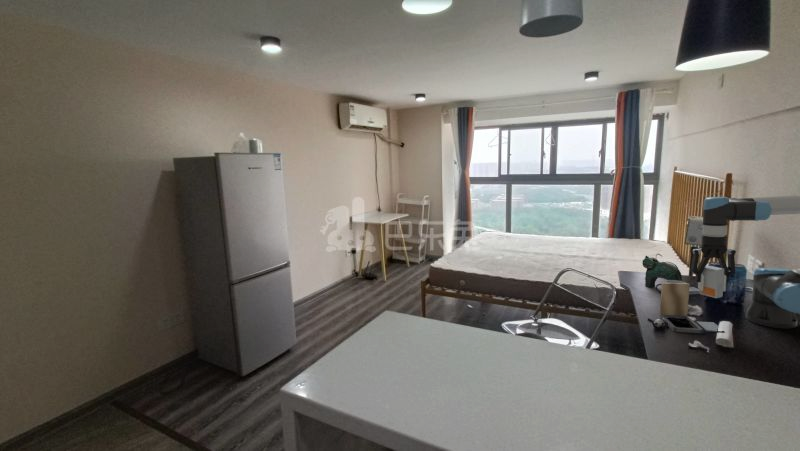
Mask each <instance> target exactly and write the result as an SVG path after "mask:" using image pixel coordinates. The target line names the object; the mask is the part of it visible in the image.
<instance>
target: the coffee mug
mask: <svg viewBox="0 0 800 451" xmlns="http://www.w3.org/2000/svg"><path fill="white" fill-rule="evenodd" d="M682 281H683V280H682ZM682 281H677V280H665V281H664V283H686V282H685V281H683V282H682ZM658 286H662V283H658V284H655V289H656V290H657V291H658V292H659V293H660V294H661V290H659V289H658Z"/></svg>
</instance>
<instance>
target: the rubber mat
mask: <svg viewBox="0 0 800 451" xmlns="http://www.w3.org/2000/svg"><path fill="white" fill-rule="evenodd" d="M695 323H696V324H697V325H698V326H700V327H701V328H702V329H703V330H704V331H706V332H712V333H718V332H717V329H718V325H717V323H715V322H712V321H699V320H698V321H695Z"/></svg>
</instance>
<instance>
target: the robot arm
mask: <svg viewBox="0 0 800 451" xmlns="http://www.w3.org/2000/svg"><path fill="white" fill-rule="evenodd" d="M702 210H703V211H702V229H701V230H702V235H701V246H700V247H699V248H693V249H692V250H691V252H692V259H691V265H690V272H691V273H693V274H695V281H696V282H697V289H698V290H699V291H700V290H701V291H703V284H704V275H702V272H703V270H704V268H705V266H707V264H708V262H709V261H710V260H711V259H717V262H718V264H719V265H720V267H719V268H723V269H724V281H723V292H726V290H727V288H726V287H727V284H728V283H729V281H730V277H731V275H735V274H736V264H735V263H736V262H735V261H736V260H735V255H736V252H737V251H736V249H732V248H728V247H727V241H728V240H727V238H728V237H727V235H728V223H729V222H728V221H749V222H750V221H752V222H753V221H755V222H758V221H766V220H767V221H768V219H769V218H770V217H771V216H783V215H785V216H786V215H800V194H797V195H795V194H793V195H779V196H762V197H761V196H760V197H744V198H736V197H730V198H729V197H727V196H707V197H706V198H704V199H703V206H702ZM701 253H702V257H701V259H700V254H701ZM725 253H726V254H727V255H726V256H727V262H726V261H725V257H724V254H725ZM699 259H700V260H699ZM726 263H727V264H726ZM752 276H753V281H752V282H753V283H752V296H751V298H752V299H751V302H750V305H749V306H748V308H747V310H746V312H745V319H746V320H747V321H749V322H751V323H753V324H757V325H758V326H759V325H760V326H764V327H768V328H775V329H783V330H784V329H795V328H797V327H798V319H797V316H796V314H800V268H796V269H789V268H779V267H757V268H754V270H753V275H752Z"/></svg>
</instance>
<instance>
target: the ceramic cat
mask: <svg viewBox="0 0 800 451" xmlns="http://www.w3.org/2000/svg"><path fill="white" fill-rule="evenodd" d="M658 255H659V256H660V257H663V256H662V254H660V253H657V254H656V255H655V257H649V256H648V255H645V257H644V259H643V260H642V266H643V268H645V269H646V272H645V276H644V277H645V278H644V280H645V281H644V282H645V284H644V286H645V287H646V288H656V282H657V280H658V279H663V280H665V281H667V280H677V281H682V282H684V281H683V276H682V272H681V270H680V269H679V267H678V266H677V264H675V263H673V262H670V261H667V262H666V261H660V260H658V258H657V256H658Z"/></svg>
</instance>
